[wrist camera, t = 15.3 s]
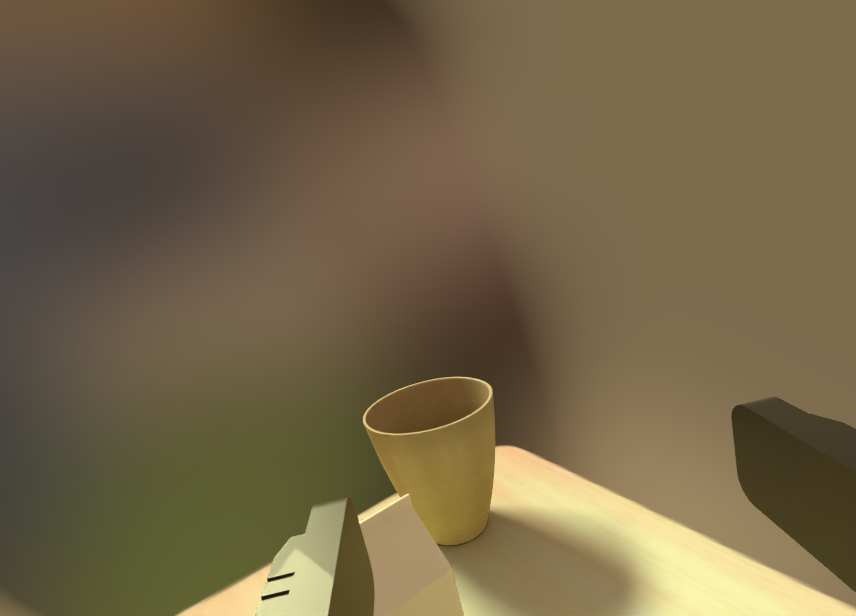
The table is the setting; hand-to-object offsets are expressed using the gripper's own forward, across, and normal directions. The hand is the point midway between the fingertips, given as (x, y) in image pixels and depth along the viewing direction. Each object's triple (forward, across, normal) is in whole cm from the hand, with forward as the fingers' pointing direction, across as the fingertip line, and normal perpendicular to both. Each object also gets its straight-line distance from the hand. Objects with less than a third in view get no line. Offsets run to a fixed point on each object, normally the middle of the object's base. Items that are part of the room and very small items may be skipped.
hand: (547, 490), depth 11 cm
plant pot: (+45, +3, +32) cm, 56 cm away
